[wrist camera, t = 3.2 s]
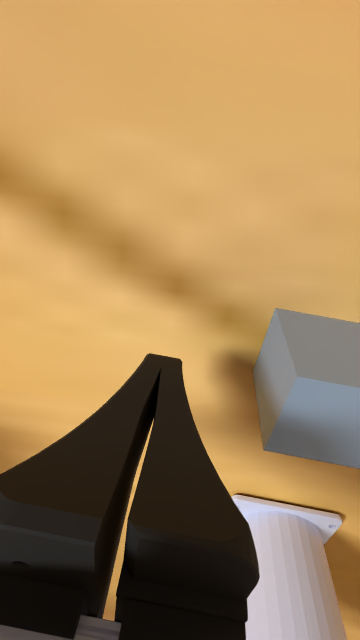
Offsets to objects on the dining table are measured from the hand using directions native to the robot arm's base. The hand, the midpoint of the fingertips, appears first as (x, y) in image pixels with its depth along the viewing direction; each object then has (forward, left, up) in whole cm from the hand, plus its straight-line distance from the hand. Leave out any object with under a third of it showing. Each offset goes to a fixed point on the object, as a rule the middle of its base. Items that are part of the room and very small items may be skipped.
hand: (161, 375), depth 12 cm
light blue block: (0, -9, -4) cm, 10 cm away
